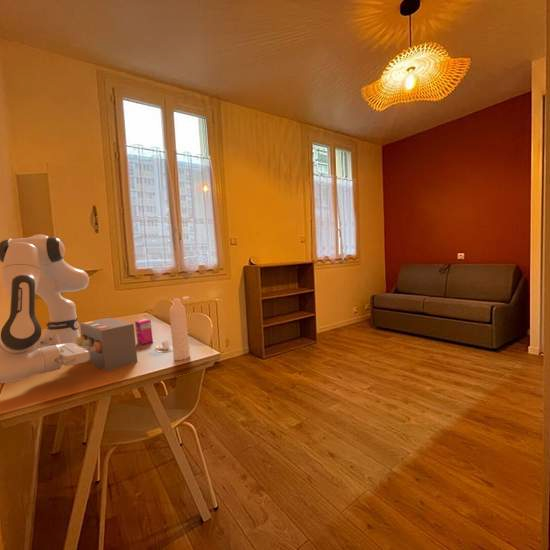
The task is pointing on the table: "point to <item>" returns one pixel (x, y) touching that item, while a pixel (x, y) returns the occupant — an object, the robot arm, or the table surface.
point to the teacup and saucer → (164, 346)
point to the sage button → (87, 342)
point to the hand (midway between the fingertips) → (94, 347)
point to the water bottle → (179, 330)
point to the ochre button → (80, 340)
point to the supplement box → (143, 332)
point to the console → (111, 342)
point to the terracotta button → (97, 346)
